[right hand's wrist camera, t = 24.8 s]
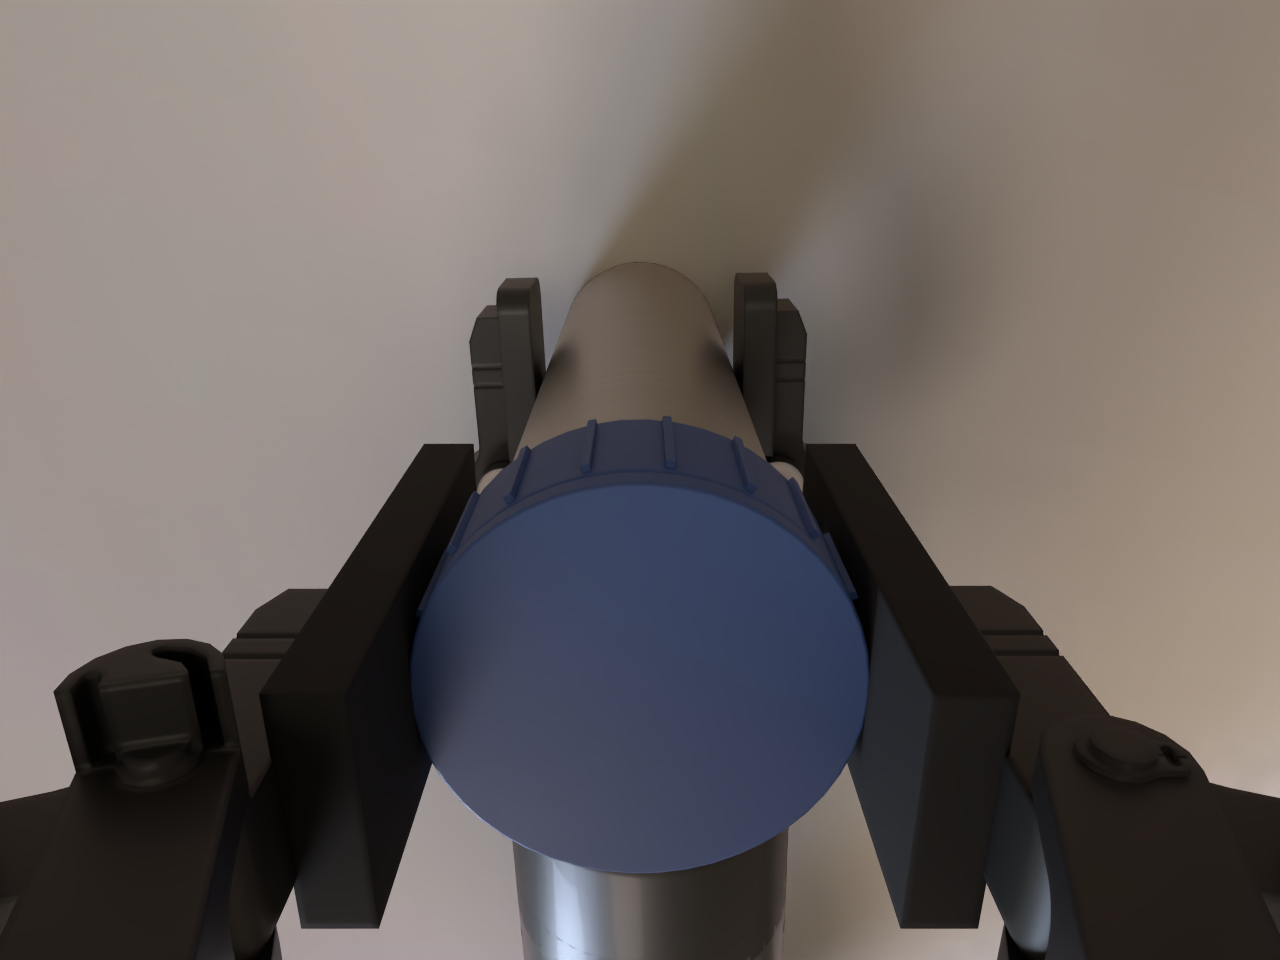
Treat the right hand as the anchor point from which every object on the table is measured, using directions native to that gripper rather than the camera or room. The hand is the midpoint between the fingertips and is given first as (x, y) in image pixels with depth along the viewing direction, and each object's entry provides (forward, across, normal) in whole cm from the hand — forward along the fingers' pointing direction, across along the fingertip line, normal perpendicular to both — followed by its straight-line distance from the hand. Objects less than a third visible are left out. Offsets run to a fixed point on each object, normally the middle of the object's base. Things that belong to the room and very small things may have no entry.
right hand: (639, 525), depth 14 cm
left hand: (+7, 0, -3) cm, 7 cm away
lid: (-4, 0, 0) cm, 4 cm away
